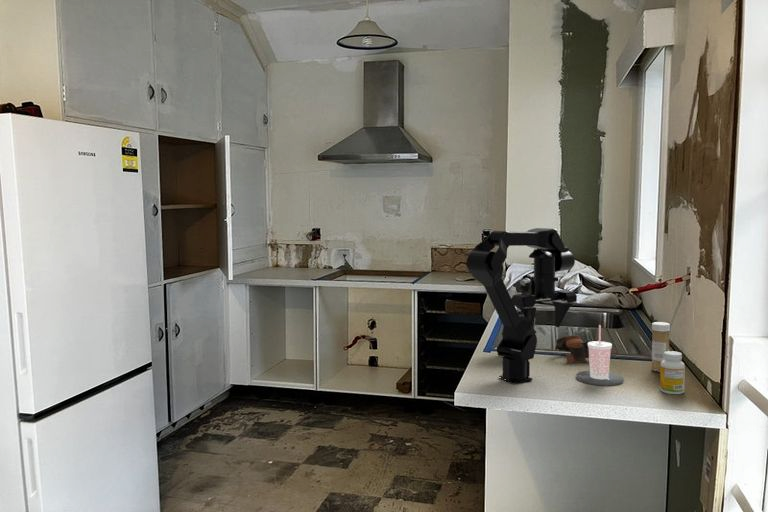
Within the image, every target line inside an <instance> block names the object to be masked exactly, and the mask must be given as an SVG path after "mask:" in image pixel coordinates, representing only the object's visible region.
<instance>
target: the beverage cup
mask: <svg viewBox="0 0 768 512" xmlns="http://www.w3.org/2000/svg"><path fill="white" fill-rule="evenodd" d="M601 335H602V325H601V324H599V325H598V340H597V341H595V340H592V342H588V351H589V357H588V360H589V370H590V377H592V378H594V379H608V377H609V372H610V362H611V350H612V348H613V347H612V346H613V343H611V342H607V341H601V340H602V337H601Z"/></svg>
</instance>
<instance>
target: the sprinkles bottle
mask: <svg viewBox="0 0 768 512" xmlns="http://www.w3.org/2000/svg"><path fill="white" fill-rule="evenodd" d="M651 331H652V336H651V337H652V338H651V339H652V340H651V371H653V370H654V371H653V372H655V371H658V372H657V373H660V369H661V362H662V361H663V360H665V358H664V352H666V351H670V331H671V324H670V323H668V322H665V321H655V322H652V323H651Z"/></svg>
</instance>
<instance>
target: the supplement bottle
mask: <svg viewBox="0 0 768 512" xmlns="http://www.w3.org/2000/svg"><path fill="white" fill-rule="evenodd" d="M664 358H665V360H663V361H662V362H661V369H660V372H659V373H660V376H659V377H660V378H659V382H660V383H659V385H660V386H659V390H660V391H661V392H663V393H665V394H668V395H681V394H684V393H685V374H686V373H685V369H686V367H685V363H684V362H683V361H682V359H683V355H682V352H679V351H675V350H674V351H673V350H672V351H671V350H669V351H666V352H664Z"/></svg>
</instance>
